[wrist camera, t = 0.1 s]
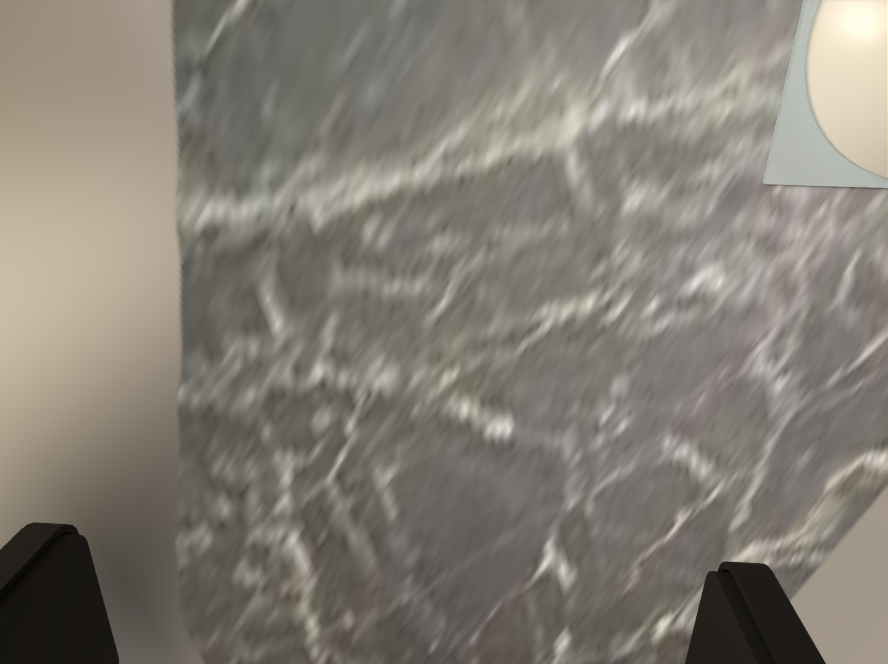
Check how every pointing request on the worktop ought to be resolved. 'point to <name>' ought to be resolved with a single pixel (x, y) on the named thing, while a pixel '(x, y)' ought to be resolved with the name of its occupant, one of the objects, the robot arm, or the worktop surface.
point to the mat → (807, 131)
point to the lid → (850, 79)
